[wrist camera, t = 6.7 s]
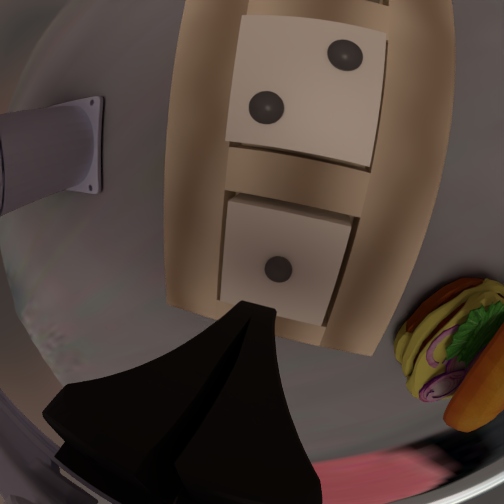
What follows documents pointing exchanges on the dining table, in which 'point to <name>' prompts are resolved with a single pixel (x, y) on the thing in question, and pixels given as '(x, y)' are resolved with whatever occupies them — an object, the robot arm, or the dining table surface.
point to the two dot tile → (307, 86)
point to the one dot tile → (282, 255)
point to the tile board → (310, 162)
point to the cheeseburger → (457, 351)
